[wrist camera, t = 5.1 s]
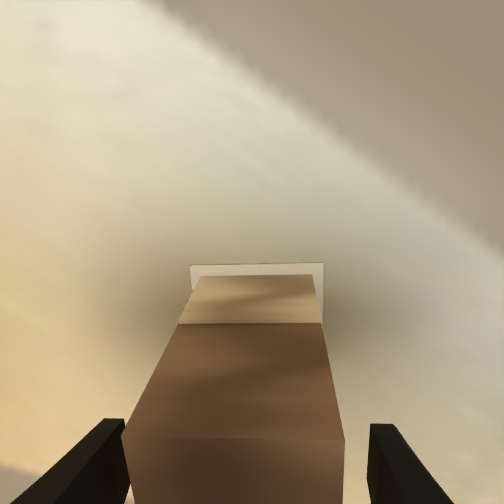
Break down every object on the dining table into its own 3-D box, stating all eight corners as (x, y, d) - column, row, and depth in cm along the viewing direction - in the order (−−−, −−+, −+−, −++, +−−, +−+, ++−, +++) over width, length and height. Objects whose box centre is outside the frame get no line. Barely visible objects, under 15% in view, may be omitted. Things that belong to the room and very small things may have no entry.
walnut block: (321, 322, 13) (344, 440, 8) (319, 436, 14) (338, 590, 10) (178, 323, 13) (120, 435, 8) (192, 434, 15) (151, 580, 10)
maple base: (311, 274, 16) (321, 319, 13) (311, 369, 18) (319, 433, 14) (201, 276, 17) (178, 319, 13) (210, 368, 18) (192, 431, 15)
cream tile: (323, 262, 16) (323, 263, 16) (321, 376, 18) (321, 377, 18) (189, 265, 17) (189, 266, 17) (202, 375, 19) (201, 376, 19)
